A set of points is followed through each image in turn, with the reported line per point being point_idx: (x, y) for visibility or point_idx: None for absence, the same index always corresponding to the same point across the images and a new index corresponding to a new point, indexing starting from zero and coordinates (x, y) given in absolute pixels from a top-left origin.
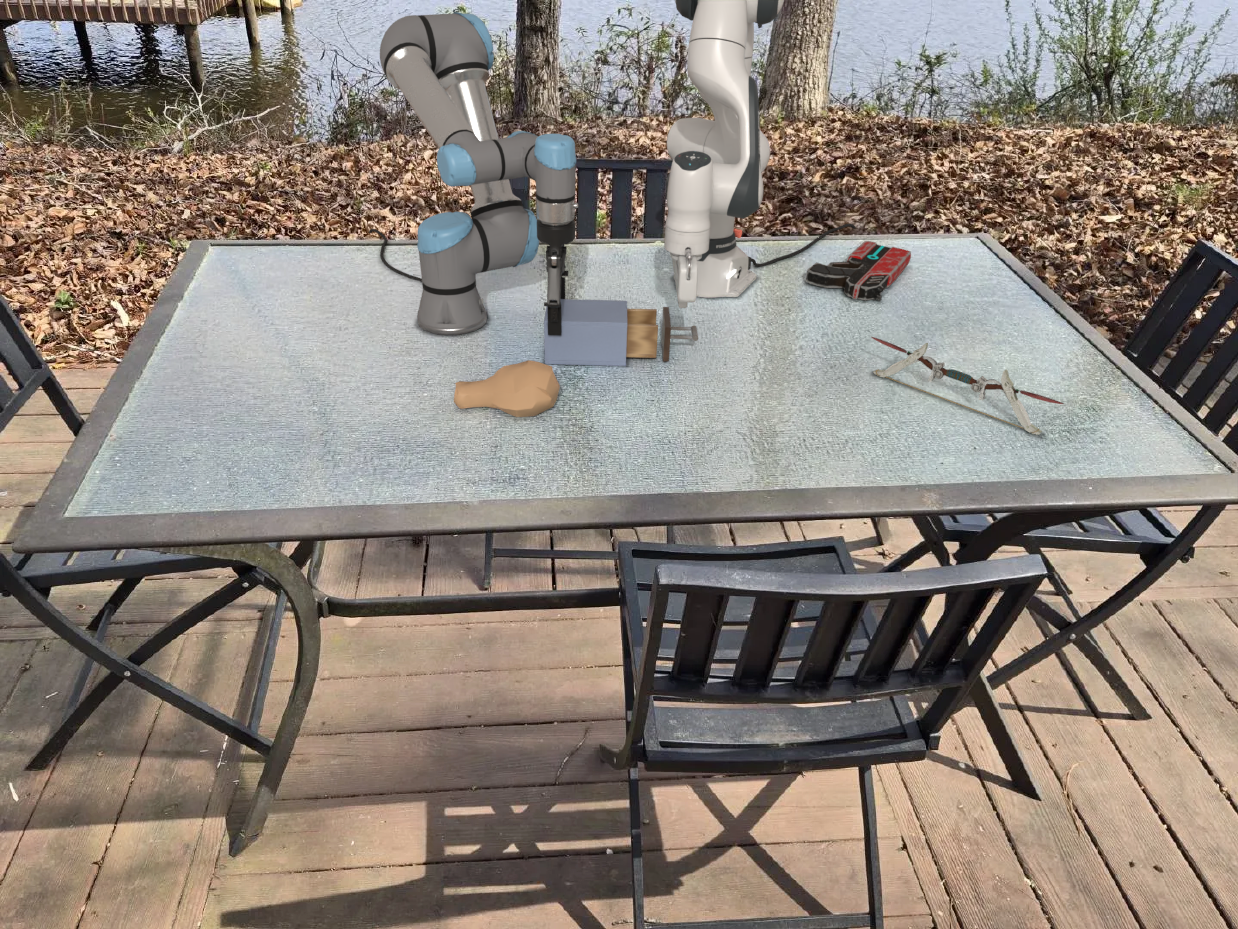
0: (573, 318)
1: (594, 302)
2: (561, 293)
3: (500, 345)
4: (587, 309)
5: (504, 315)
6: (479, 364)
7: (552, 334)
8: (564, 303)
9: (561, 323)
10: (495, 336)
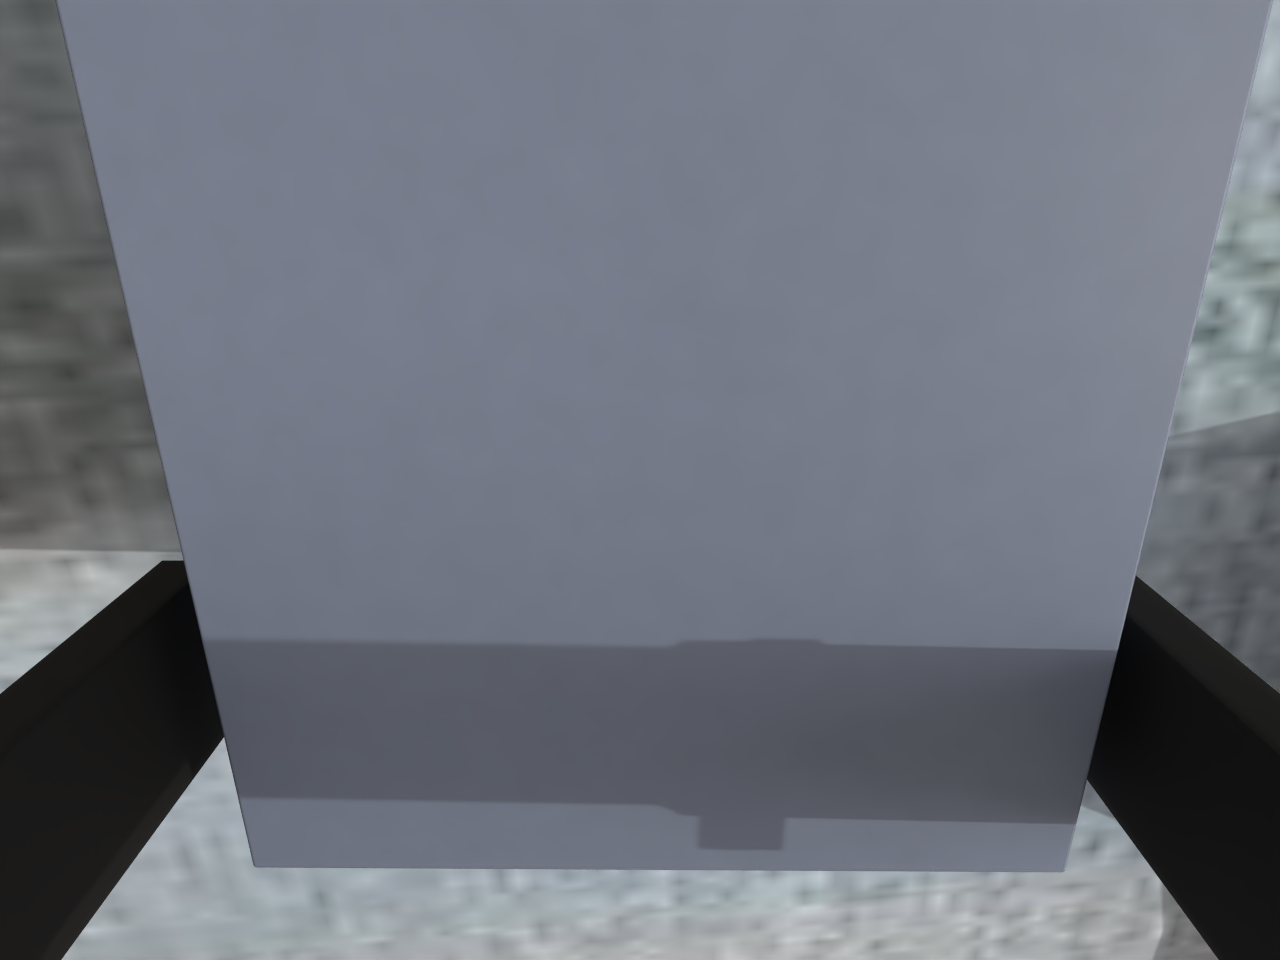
0: (1026, 474)
1: (219, 77)
2: (98, 737)
3: None
4: (608, 225)
5: None
6: (859, 948)
7: None
8: (392, 642)
9: (1161, 643)
10: (420, 903)
